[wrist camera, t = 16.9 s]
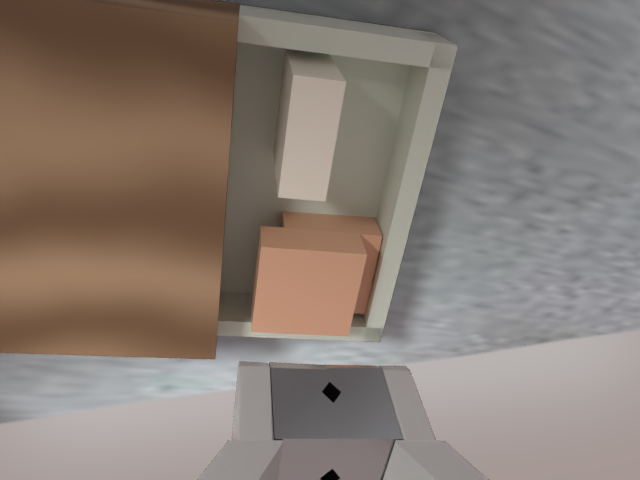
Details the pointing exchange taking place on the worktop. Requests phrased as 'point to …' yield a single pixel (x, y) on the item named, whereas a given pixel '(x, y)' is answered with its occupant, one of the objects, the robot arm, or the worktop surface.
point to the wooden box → (114, 174)
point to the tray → (350, 149)
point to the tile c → (349, 225)
